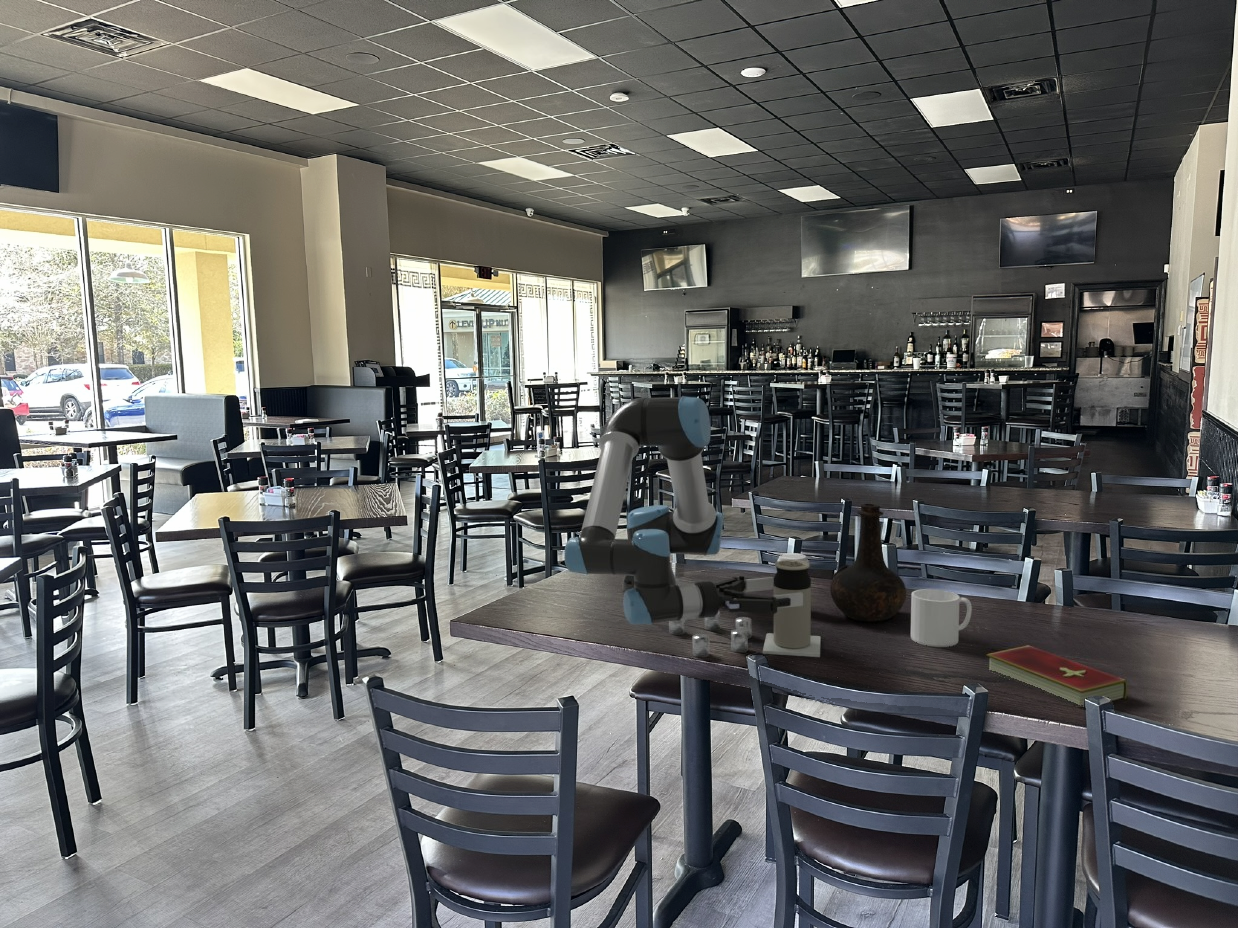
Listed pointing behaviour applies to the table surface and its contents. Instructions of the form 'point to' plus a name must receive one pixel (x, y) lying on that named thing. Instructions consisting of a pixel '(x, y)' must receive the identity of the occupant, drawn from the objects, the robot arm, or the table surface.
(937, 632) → the mug
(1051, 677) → the hardcover book
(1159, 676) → the table surface
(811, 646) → the rubber mat
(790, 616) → the travel mug
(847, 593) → the glass bottle
